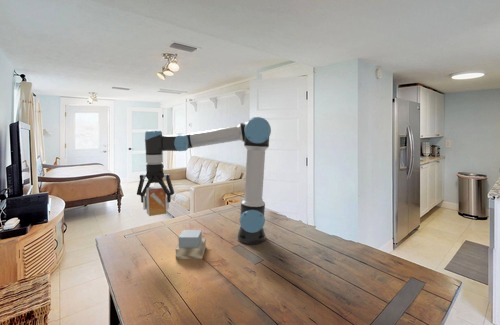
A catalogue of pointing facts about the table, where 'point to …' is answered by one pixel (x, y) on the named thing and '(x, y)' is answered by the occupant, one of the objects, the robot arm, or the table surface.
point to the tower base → (191, 251)
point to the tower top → (190, 238)
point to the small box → (155, 201)
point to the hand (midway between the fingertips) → (156, 208)
